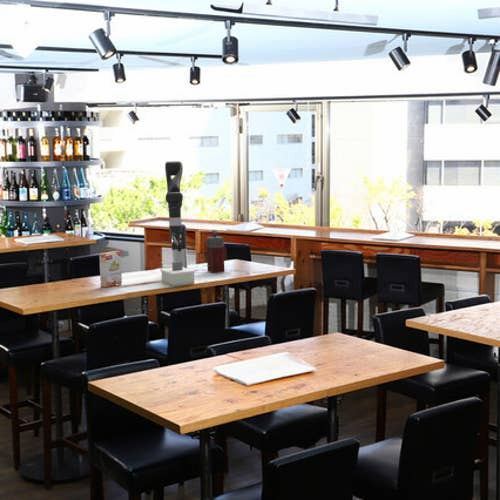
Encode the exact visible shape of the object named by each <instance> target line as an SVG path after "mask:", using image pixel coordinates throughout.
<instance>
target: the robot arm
mask: <svg viewBox="0 0 500 500" xmlns="http://www.w3.org/2000/svg"><path fill="white" fill-rule="evenodd" d="M164 169H165V171H164V172H165V179H166V187H167V188H166V190H167V191H166V194H165V202H166V203H167V208H168V217H169V218H168V227H169V228H168V230H169V231H168V233H169V243H170V244H171V250H172V262H180V261H181V262H182V267H184V268H187V269H188V256H187V253H188V252H187V227H186V225H185V224H184V223H183V222H182V212H181V211H182V206H183V200H184V195H183V193H182V192H181V181H182V178H183V171H184V168H183V163H182V162H181V161H180V160H175V161H173V160H171V161H165V165H164ZM172 176H173V177H172ZM182 223H183V224H182Z"/></svg>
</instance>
